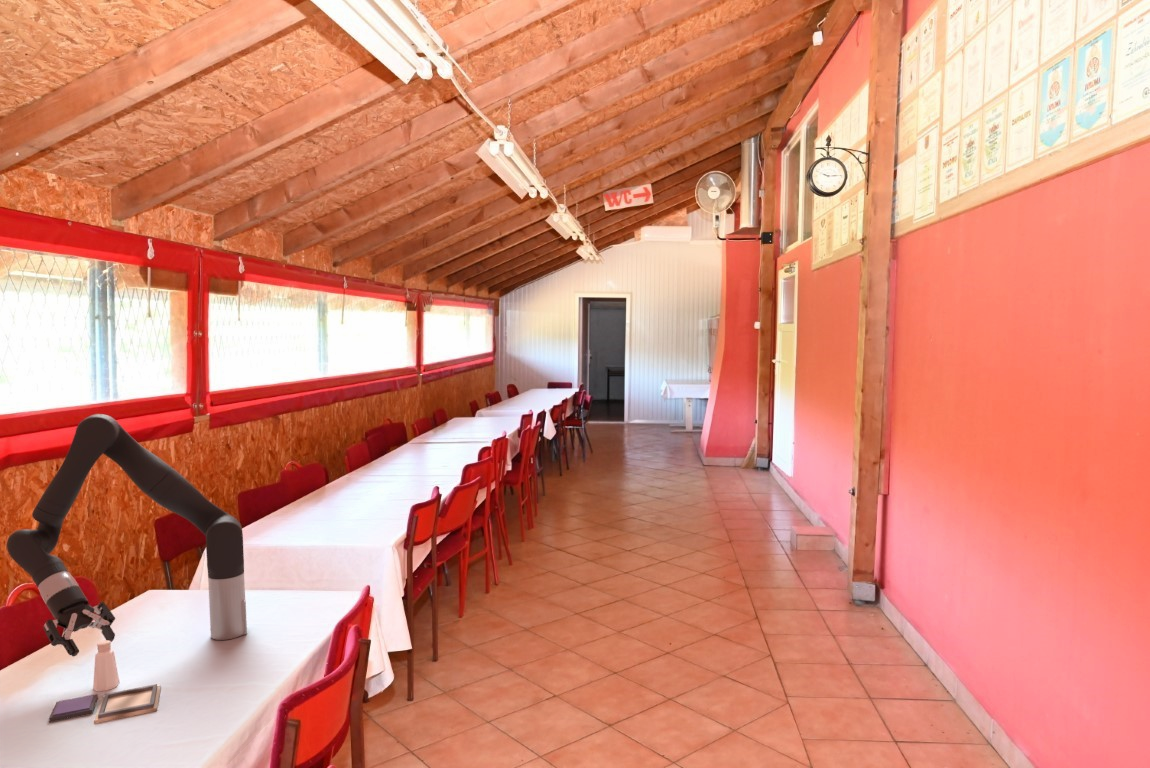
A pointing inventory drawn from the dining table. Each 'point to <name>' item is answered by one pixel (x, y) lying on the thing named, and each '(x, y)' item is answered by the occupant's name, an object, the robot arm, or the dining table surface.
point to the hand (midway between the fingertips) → (94, 647)
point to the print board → (128, 703)
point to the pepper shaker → (105, 668)
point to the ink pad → (73, 708)
